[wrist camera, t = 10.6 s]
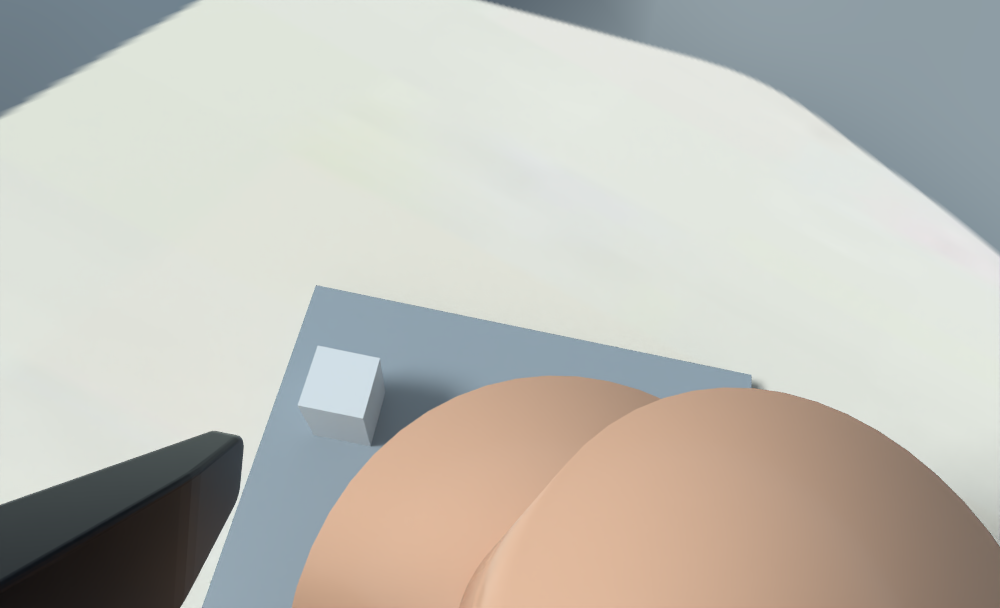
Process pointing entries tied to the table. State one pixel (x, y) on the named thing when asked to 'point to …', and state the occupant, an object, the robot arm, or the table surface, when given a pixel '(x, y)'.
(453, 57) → the table surface
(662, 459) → the tan bottle
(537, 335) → the plate
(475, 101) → the table surface
